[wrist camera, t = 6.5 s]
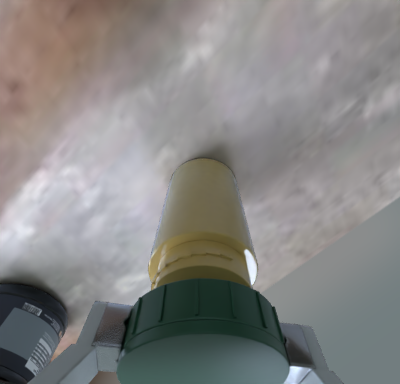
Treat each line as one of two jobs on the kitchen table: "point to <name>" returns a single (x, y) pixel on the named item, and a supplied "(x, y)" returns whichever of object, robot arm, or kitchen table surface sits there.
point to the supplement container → (28, 332)
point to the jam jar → (203, 228)
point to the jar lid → (203, 336)
